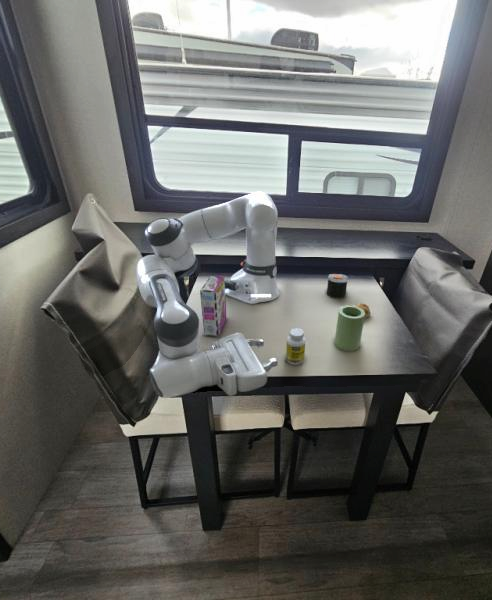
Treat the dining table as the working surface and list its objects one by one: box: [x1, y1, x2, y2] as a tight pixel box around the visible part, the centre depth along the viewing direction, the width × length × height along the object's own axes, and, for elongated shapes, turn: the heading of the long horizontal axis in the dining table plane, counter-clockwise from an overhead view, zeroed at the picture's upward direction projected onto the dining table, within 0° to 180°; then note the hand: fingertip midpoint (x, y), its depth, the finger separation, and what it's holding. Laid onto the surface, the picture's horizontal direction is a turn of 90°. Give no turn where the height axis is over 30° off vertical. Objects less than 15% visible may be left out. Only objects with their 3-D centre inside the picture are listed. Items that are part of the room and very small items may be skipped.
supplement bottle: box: [285, 327, 306, 365], centre depth 91 cm, size 5×5×10 cm
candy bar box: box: [199, 275, 228, 337], centre depth 102 cm, size 11×5×16 cm, turn 178°
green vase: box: [334, 304, 366, 352], centre depth 99 cm, size 8×8×12 cm
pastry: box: [354, 302, 372, 318], centre depth 117 cm, size 9×7×4 cm
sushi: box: [326, 273, 349, 299], centre depth 131 cm, size 8×8×8 cm
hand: (269, 351), depth 87 cm, fingers open, 8 cm apart
